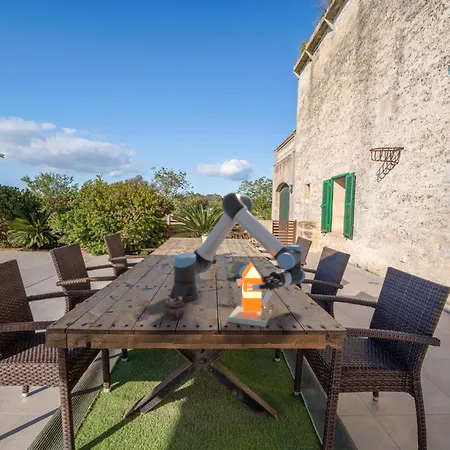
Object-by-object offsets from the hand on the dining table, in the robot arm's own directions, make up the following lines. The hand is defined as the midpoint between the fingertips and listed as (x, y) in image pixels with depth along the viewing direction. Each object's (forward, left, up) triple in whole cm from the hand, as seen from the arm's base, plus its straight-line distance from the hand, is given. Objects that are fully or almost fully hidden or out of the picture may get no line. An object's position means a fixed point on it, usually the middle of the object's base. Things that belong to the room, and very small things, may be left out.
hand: (244, 285), depth 127 cm
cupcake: (-30, -8, -15) cm, 34 cm away
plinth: (+2, +3, -15) cm, 16 cm away
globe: (-22, +79, -15) cm, 84 cm away
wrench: (+4, +33, -16) cm, 37 cm away
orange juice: (+2, +3, -11) cm, 12 cm away
